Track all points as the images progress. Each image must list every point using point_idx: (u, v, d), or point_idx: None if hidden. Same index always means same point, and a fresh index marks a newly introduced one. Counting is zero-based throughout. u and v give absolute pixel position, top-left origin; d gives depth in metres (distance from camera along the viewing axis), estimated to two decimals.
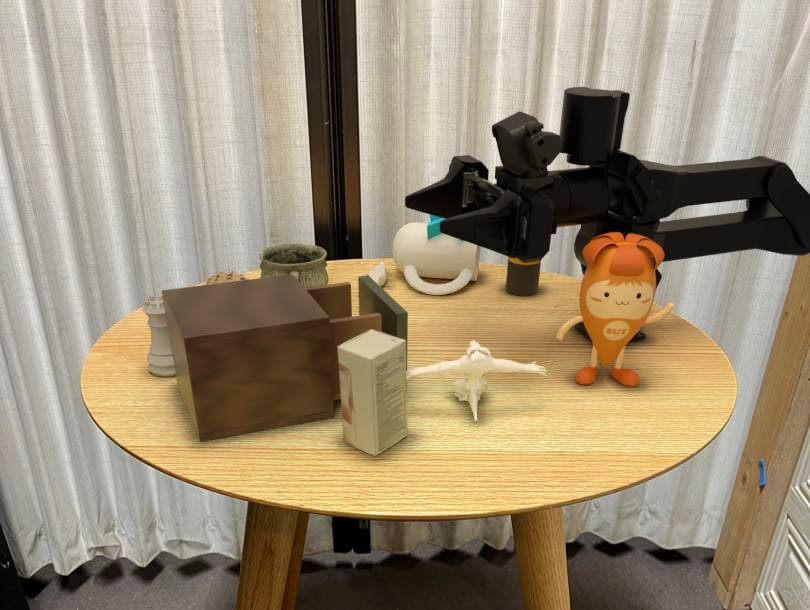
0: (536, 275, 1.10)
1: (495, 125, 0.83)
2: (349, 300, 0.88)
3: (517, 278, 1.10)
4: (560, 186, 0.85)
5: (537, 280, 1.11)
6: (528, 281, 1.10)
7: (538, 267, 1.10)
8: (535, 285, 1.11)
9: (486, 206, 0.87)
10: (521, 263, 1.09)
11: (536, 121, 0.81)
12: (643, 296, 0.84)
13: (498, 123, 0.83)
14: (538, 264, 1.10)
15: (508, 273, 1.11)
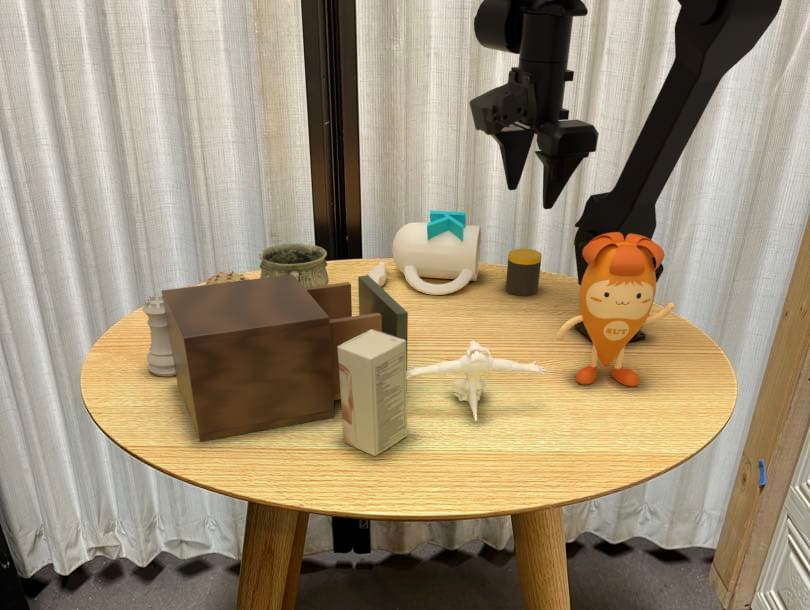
0: (536, 275, 1.10)
1: (477, 129, 0.99)
2: (349, 300, 0.88)
3: (517, 278, 1.10)
4: (538, 74, 0.95)
5: (537, 280, 1.11)
6: (528, 281, 1.10)
7: (538, 267, 1.10)
8: (535, 285, 1.11)
9: None
10: (521, 263, 1.09)
11: (485, 109, 0.95)
12: (643, 296, 0.84)
13: (476, 127, 0.99)
14: (538, 264, 1.10)
15: (508, 273, 1.11)
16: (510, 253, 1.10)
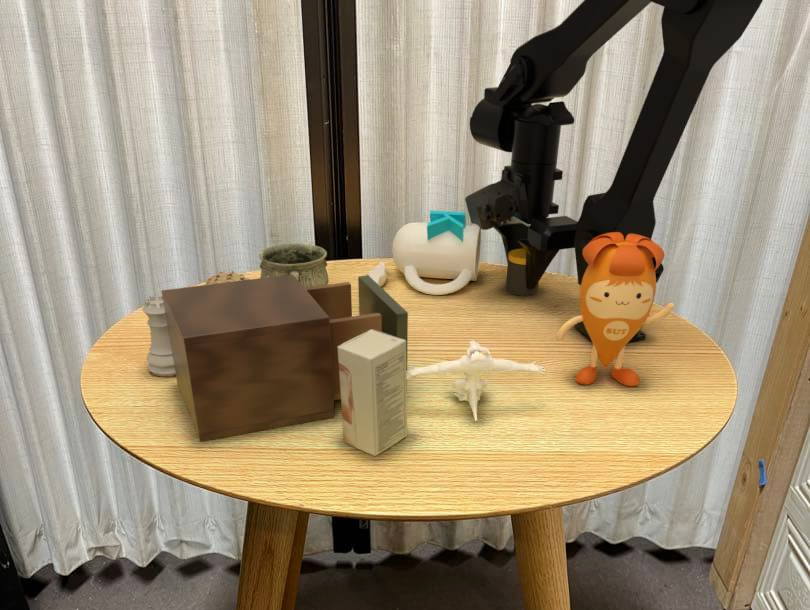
0: None
1: None
2: (349, 300, 0.88)
3: (517, 278, 1.10)
4: (528, 175, 1.01)
5: None
6: None
7: None
8: None
9: None
10: (521, 263, 1.09)
11: (480, 207, 1.02)
12: (643, 296, 0.84)
13: (471, 220, 1.06)
14: None
15: (508, 273, 1.11)
16: (510, 253, 1.10)
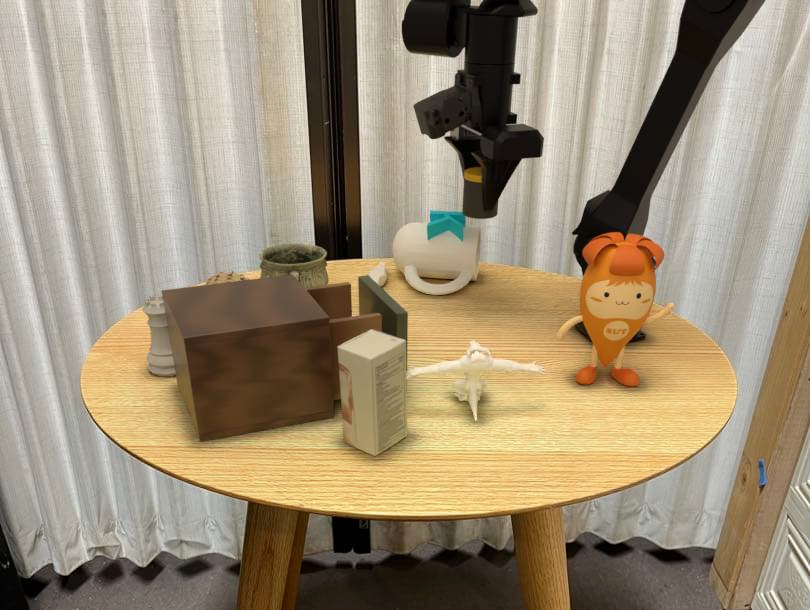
0: None
1: (422, 133, 0.96)
2: (349, 300, 0.88)
3: (474, 199, 1.00)
4: (482, 76, 0.92)
5: None
6: None
7: None
8: None
9: None
10: (477, 181, 0.99)
11: (427, 112, 0.92)
12: (643, 296, 0.84)
13: (421, 131, 0.96)
14: None
15: (464, 194, 1.01)
16: (466, 171, 1.00)
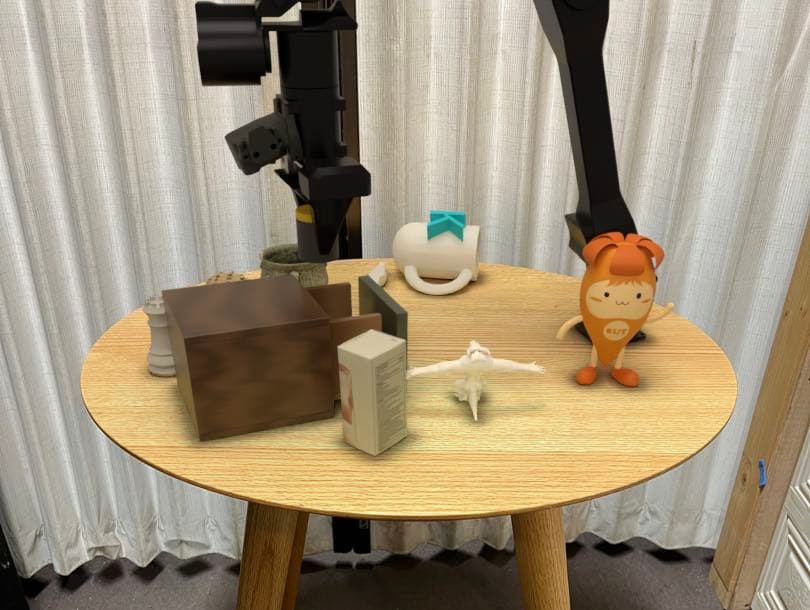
0: None
1: (239, 168, 0.83)
2: (349, 300, 0.88)
3: (307, 241, 0.87)
4: (297, 103, 0.78)
5: (334, 243, 0.88)
6: None
7: None
8: None
9: None
10: (308, 221, 0.86)
11: (235, 145, 0.79)
12: (643, 296, 0.84)
13: (237, 165, 0.83)
14: None
15: (297, 235, 0.88)
16: (297, 209, 0.87)
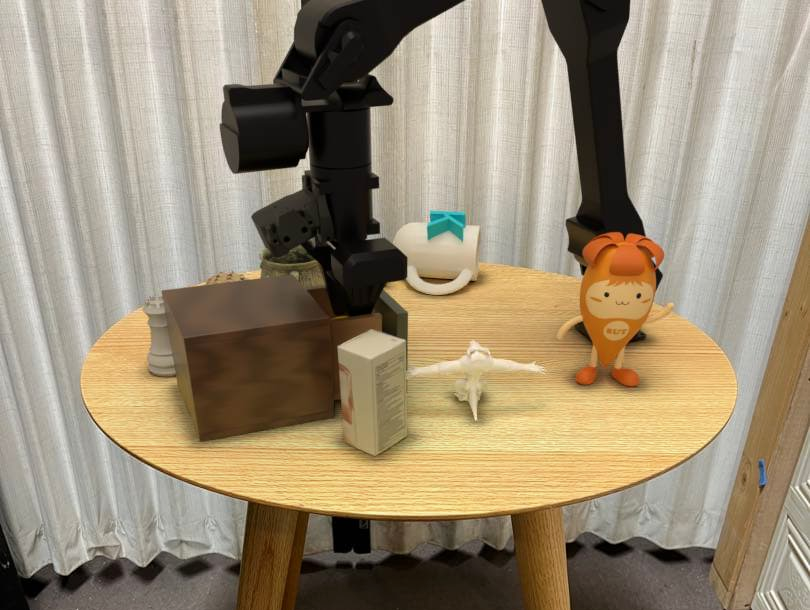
0: None
1: (266, 247, 0.79)
2: None
3: None
4: (329, 183, 0.74)
5: None
6: None
7: None
8: None
9: None
10: None
11: (264, 228, 0.75)
12: (643, 296, 0.84)
13: (264, 244, 0.79)
14: None
15: None
16: None
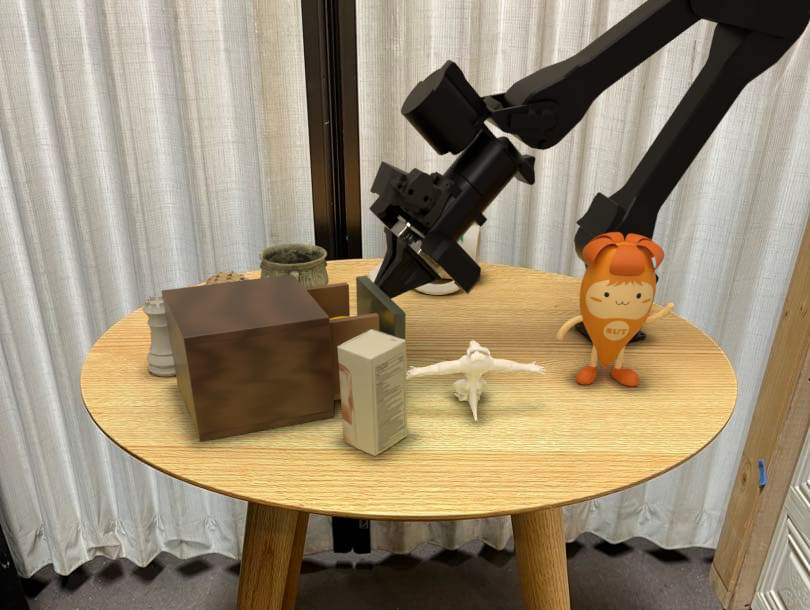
0: None
1: (371, 191, 0.85)
2: (347, 300, 0.88)
3: None
4: (459, 189, 0.84)
5: None
6: None
7: None
8: None
9: None
10: None
11: (396, 172, 0.81)
12: (643, 296, 0.84)
13: (372, 188, 0.85)
14: None
15: None
16: None
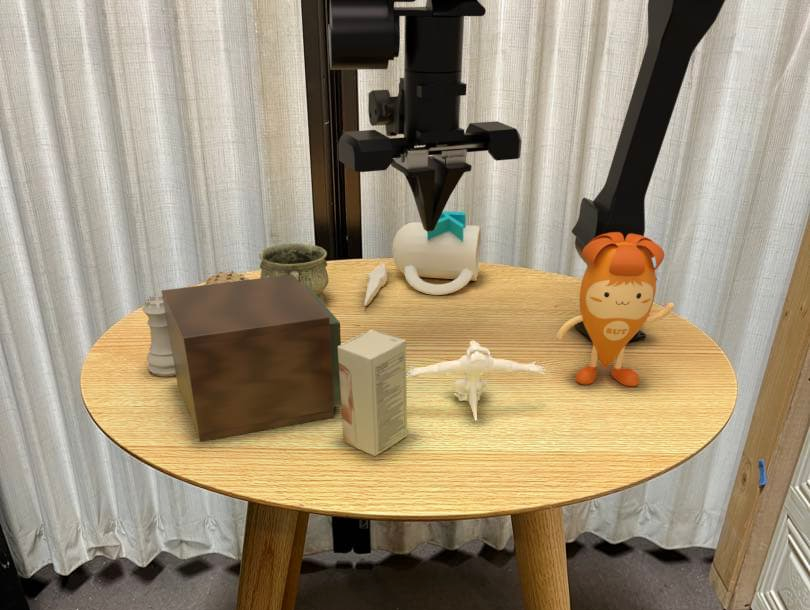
0: None
1: None
2: None
3: None
4: (403, 80, 0.83)
5: None
6: None
7: None
8: None
9: None
10: None
11: None
12: (643, 296, 0.84)
13: None
14: None
15: None
16: None
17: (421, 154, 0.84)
